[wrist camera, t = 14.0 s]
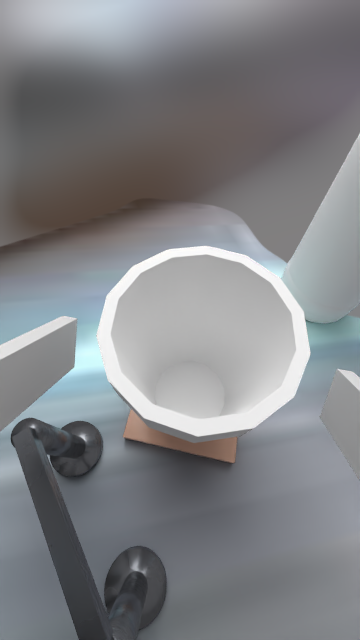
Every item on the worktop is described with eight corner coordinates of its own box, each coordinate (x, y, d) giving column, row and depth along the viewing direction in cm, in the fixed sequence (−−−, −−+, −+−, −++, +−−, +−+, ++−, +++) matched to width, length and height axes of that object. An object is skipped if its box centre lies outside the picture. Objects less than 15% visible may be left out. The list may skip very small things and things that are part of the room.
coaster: (124, 438, 23) (122, 436, 22) (152, 342, 27) (151, 337, 26) (232, 463, 22) (234, 463, 21) (243, 360, 26) (245, 356, 26)
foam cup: (144, 341, 26) (121, 239, 15) (241, 349, 26) (294, 252, 15) (126, 451, 22) (73, 424, 10) (245, 462, 21) (325, 448, 10)
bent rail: (-72, 757, 15) (-389, 1125, 6) (64, 417, 24) (4, 385, 15) (124, 827, 14) (50, 1361, 6) (190, 446, 23) (201, 430, 14)
